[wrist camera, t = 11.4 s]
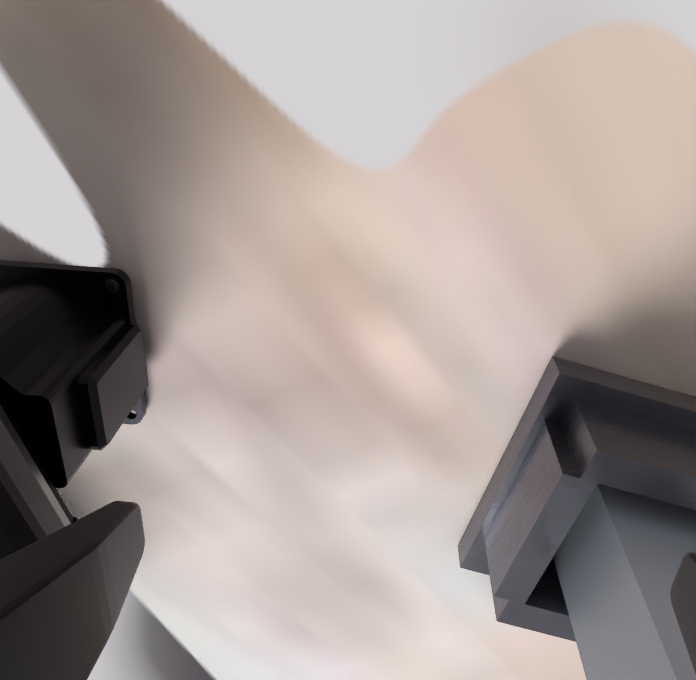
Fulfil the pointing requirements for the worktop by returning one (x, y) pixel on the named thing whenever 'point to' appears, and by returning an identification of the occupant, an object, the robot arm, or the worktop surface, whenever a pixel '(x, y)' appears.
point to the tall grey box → (626, 585)
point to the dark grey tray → (573, 480)
